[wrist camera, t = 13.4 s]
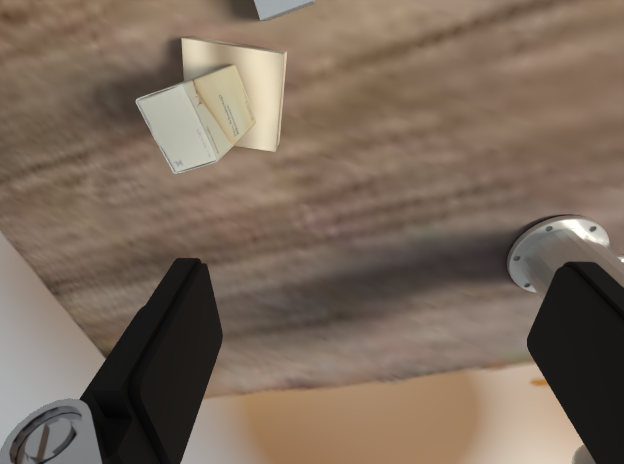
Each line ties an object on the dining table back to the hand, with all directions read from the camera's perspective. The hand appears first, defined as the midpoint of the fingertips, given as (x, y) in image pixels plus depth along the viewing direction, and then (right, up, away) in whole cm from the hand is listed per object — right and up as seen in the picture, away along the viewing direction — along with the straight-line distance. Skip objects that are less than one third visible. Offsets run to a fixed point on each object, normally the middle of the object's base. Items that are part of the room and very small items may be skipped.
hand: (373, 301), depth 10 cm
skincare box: (-11, +16, +27) cm, 33 cm away
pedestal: (-10, +18, +30) cm, 37 cm away
